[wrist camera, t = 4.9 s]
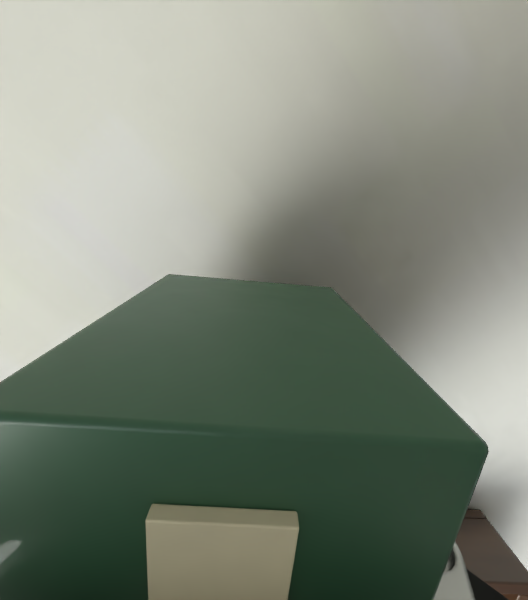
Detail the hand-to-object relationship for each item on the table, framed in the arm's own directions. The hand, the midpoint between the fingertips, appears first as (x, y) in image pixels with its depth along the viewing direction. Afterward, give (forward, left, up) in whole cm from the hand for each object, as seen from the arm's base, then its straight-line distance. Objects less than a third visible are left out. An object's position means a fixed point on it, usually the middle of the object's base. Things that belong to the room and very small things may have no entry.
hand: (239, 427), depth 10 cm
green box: (0, 0, -1) cm, 1 cm away
